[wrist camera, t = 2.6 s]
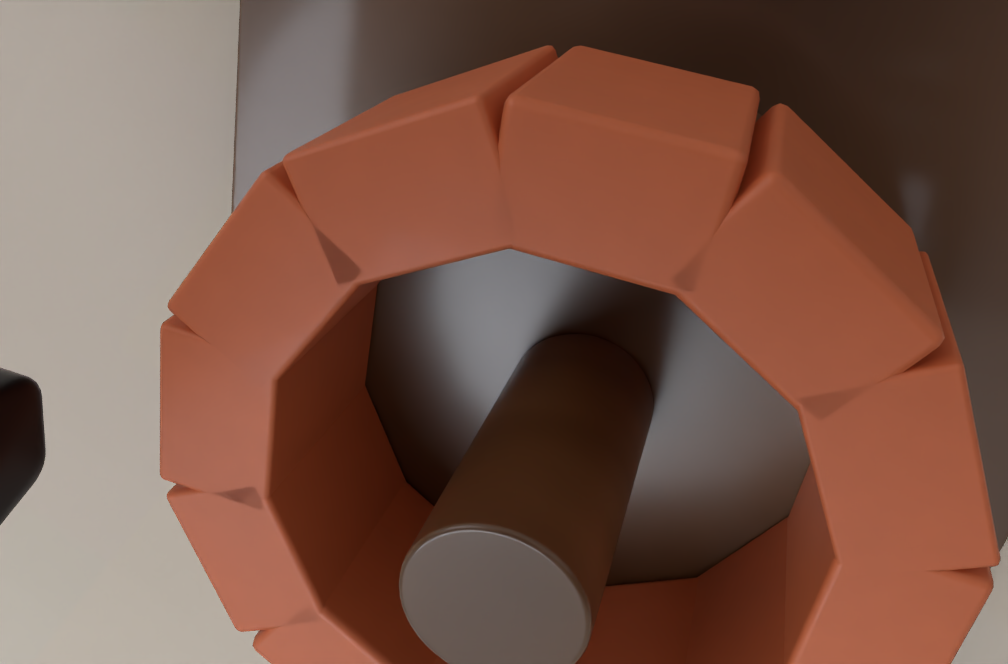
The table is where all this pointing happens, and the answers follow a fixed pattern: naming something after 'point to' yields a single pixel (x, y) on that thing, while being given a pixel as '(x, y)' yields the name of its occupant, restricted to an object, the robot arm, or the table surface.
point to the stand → (631, 295)
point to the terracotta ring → (608, 251)
